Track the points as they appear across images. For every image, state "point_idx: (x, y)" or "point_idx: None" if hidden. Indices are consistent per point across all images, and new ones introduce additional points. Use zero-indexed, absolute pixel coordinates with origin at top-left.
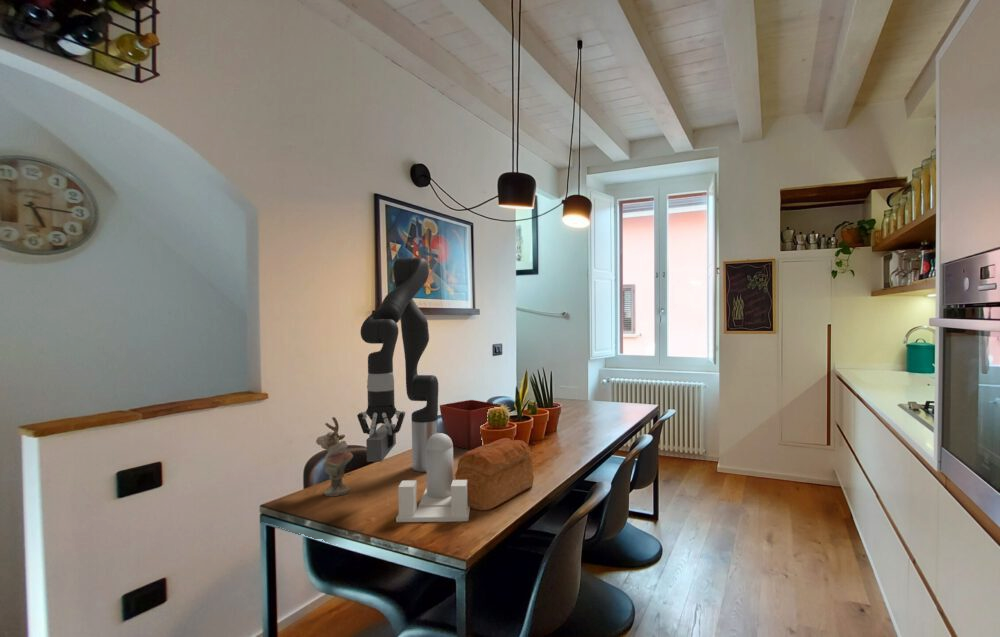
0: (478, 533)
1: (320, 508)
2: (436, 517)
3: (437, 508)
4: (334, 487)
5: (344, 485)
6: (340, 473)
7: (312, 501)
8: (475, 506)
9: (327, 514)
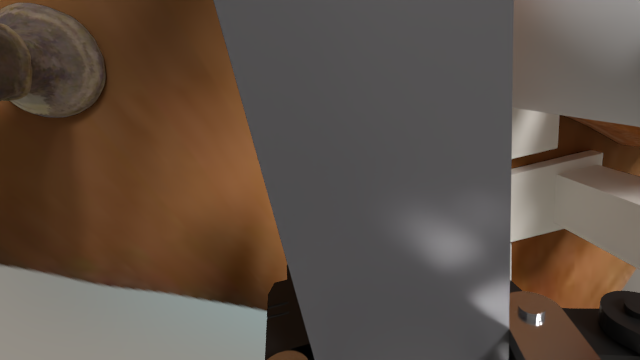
0: (605, 267)
1: (120, 225)
2: (515, 240)
3: (511, 186)
4: (40, 93)
5: (52, 34)
6: (9, 73)
7: (34, 177)
8: (616, 139)
9: (180, 259)
